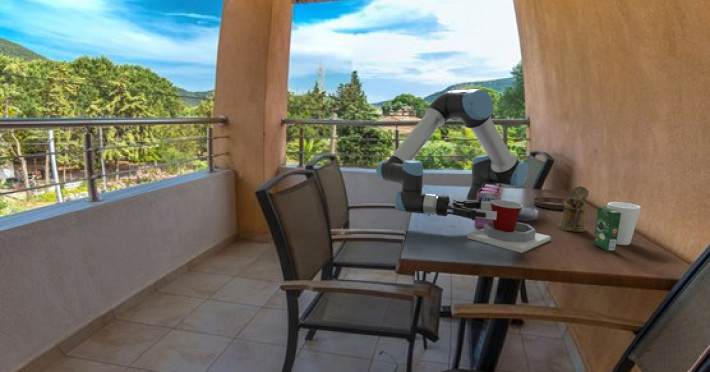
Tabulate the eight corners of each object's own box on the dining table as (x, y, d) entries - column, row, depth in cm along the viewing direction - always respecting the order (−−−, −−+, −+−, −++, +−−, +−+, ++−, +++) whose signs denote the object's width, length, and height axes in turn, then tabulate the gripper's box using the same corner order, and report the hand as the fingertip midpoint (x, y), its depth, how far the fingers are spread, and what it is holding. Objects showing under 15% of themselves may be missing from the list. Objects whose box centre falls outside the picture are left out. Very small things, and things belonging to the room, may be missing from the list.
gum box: (481, 212, 181) (483, 182, 178) (500, 214, 178) (503, 183, 175) (474, 226, 159) (476, 191, 157) (495, 229, 156) (498, 193, 154)
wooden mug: (561, 234, 150) (566, 185, 147) (557, 224, 163) (562, 179, 160) (589, 237, 147) (595, 187, 144) (582, 227, 160) (588, 181, 156)
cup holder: (497, 227, 157) (498, 216, 157) (550, 240, 143) (551, 227, 142) (466, 237, 144) (467, 225, 144) (521, 252, 130) (522, 239, 129)
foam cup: (596, 239, 144) (601, 203, 142) (614, 236, 148) (619, 201, 146) (623, 247, 136) (628, 209, 133) (641, 244, 139) (647, 207, 137)
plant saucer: (533, 201, 207) (533, 195, 206) (572, 204, 200) (573, 198, 199) (531, 208, 191) (532, 201, 191) (574, 212, 184) (575, 206, 183)
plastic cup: (524, 242, 135) (526, 206, 133) (489, 240, 137) (491, 204, 135) (518, 233, 145) (520, 199, 143) (486, 231, 147) (488, 198, 145)
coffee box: (616, 252, 132) (622, 212, 129) (607, 252, 131) (613, 212, 129) (601, 244, 139) (605, 206, 137) (592, 244, 139) (597, 206, 137)
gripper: (443, 207, 163) (500, 213, 155) (428, 223, 141) (494, 231, 133) (444, 189, 162) (501, 194, 154) (429, 201, 139) (495, 208, 131)
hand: (498, 211), depth 143 cm, fingers open, 13 cm apart
